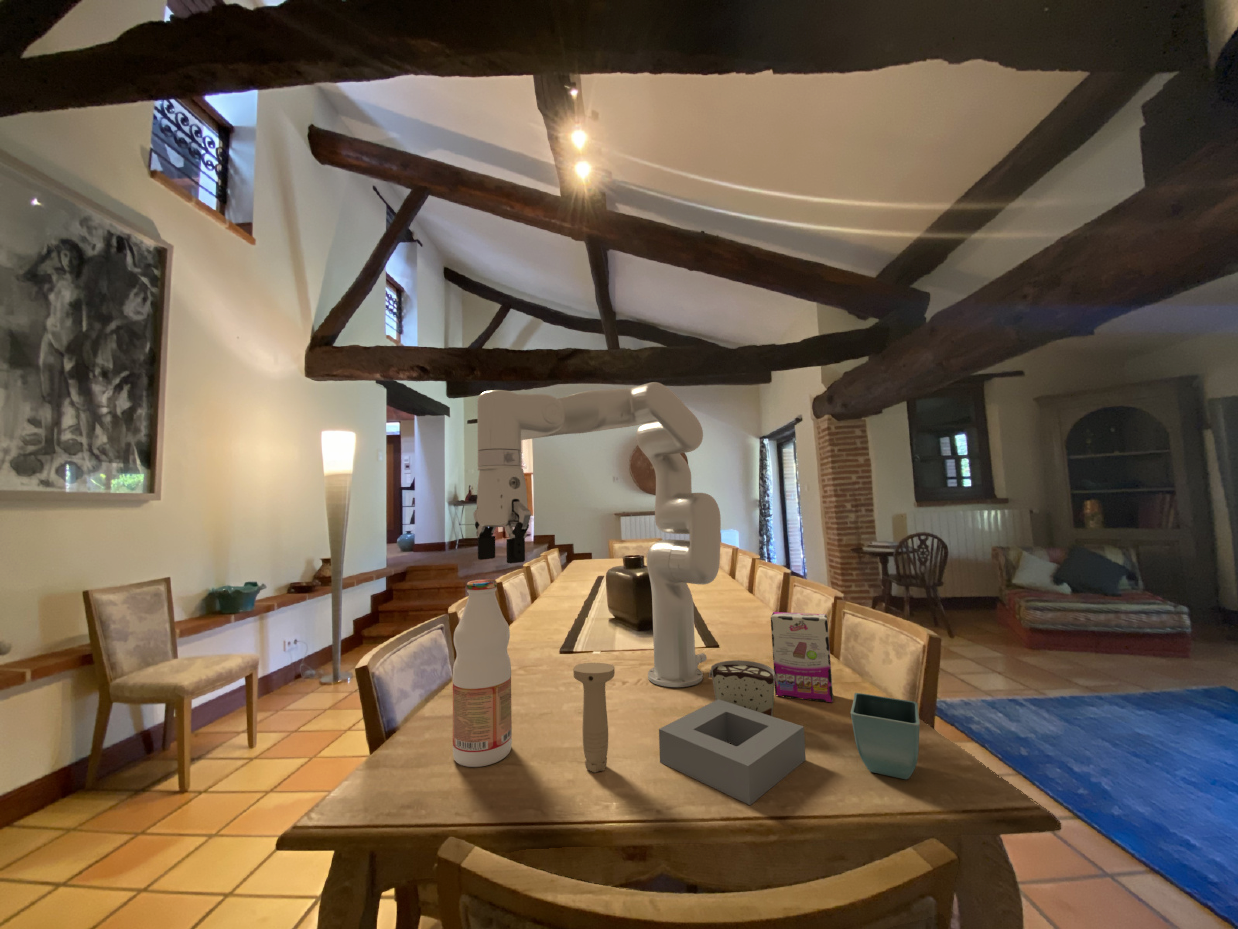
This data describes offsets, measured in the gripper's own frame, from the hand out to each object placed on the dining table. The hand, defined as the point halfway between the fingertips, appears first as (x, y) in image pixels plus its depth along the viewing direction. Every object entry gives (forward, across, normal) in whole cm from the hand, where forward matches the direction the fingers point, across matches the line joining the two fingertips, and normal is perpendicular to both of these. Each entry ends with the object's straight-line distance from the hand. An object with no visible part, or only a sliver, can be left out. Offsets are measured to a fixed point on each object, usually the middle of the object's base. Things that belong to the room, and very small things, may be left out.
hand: (500, 560), depth 85 cm
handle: (+31, -16, -7) cm, 36 cm away
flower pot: (+32, -48, -37) cm, 68 cm away
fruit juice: (+31, +1, +3) cm, 32 cm away
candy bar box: (+32, -26, -55) cm, 69 cm away
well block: (+31, -30, -23) cm, 49 cm away
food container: (+31, -24, -37) cm, 54 cm away
